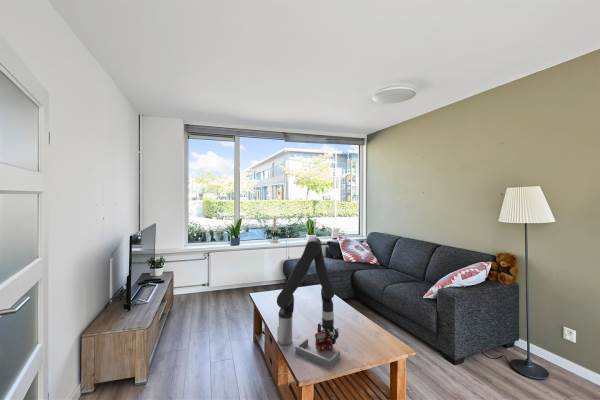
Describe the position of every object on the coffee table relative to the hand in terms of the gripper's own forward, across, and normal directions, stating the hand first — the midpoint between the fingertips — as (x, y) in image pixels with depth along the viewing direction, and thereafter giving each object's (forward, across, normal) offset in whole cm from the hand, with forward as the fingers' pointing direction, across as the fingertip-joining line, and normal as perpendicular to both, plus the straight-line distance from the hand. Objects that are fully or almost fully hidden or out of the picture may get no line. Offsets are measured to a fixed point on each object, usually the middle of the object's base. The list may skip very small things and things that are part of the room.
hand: (327, 341), depth 177 cm
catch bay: (+3, 0, -12) cm, 12 cm away
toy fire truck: (+3, -1, -3) cm, 5 cm away
